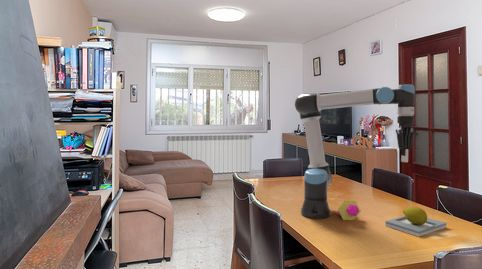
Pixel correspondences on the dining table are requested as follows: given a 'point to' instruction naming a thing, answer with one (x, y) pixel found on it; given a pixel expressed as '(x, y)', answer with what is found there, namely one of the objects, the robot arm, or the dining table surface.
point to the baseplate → (415, 226)
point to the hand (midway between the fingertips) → (404, 161)
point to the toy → (349, 210)
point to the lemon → (415, 215)
